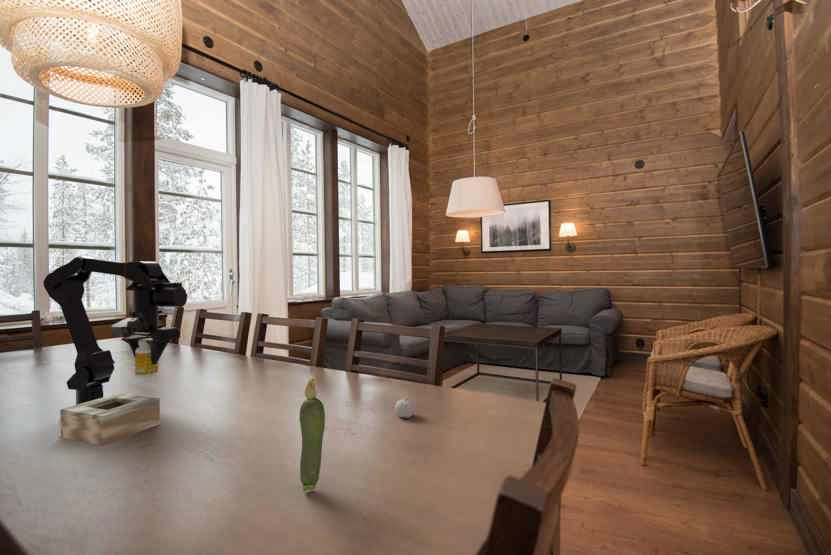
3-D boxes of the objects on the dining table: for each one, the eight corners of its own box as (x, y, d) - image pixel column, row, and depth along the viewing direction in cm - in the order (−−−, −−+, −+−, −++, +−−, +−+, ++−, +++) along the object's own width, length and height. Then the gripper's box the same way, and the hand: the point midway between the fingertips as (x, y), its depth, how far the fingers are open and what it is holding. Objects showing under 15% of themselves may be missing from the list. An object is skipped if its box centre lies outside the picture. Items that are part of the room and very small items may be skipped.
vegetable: (302, 483, 78) (301, 373, 78) (326, 482, 78) (326, 373, 78) (297, 496, 74) (297, 380, 73) (323, 495, 74) (323, 379, 74)
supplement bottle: (147, 377, 116) (147, 341, 115) (130, 376, 117) (130, 340, 116) (162, 373, 121) (163, 338, 121) (146, 371, 122) (146, 337, 122)
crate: (60, 437, 99) (60, 409, 99) (119, 417, 113) (119, 392, 113) (103, 445, 95) (102, 416, 95) (159, 424, 108) (159, 398, 108)
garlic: (420, 416, 114) (420, 397, 114) (406, 422, 110) (406, 401, 110) (404, 411, 118) (404, 392, 118) (390, 416, 114) (390, 396, 114)
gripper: (92, 308, 114) (92, 367, 114) (144, 310, 108) (144, 372, 108) (132, 305, 124) (132, 359, 125) (181, 307, 118) (182, 363, 119)
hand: (146, 363), depth 119 cm, fingers closed on supplement bottle, 5 cm apart
